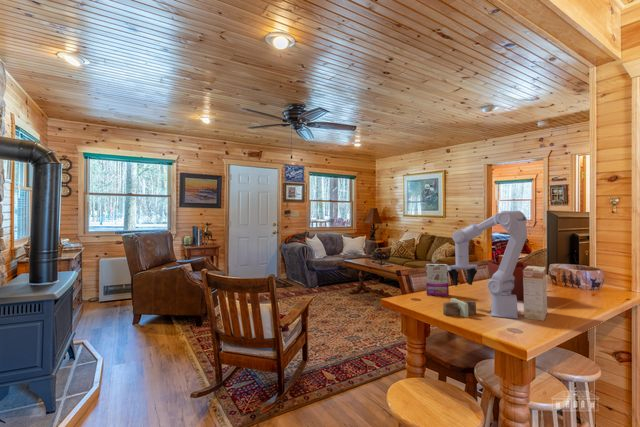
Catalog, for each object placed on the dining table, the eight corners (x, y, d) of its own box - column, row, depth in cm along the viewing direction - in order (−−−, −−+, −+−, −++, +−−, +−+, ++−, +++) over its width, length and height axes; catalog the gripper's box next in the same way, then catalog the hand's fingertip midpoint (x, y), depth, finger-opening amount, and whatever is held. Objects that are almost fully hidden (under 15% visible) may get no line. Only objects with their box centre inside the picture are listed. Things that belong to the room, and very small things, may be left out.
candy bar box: (448, 294, 175) (447, 263, 176) (448, 296, 171) (448, 265, 171) (426, 293, 179) (425, 263, 179) (426, 295, 174) (425, 264, 174)
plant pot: (547, 302, 157) (546, 267, 157) (507, 302, 157) (506, 267, 157) (523, 293, 176) (522, 261, 176) (487, 293, 176) (486, 262, 176)
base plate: (473, 312, 142) (472, 300, 142) (476, 313, 140) (475, 301, 140) (443, 314, 139) (443, 302, 139) (446, 315, 137) (445, 303, 137)
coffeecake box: (528, 309, 145) (527, 265, 145) (548, 312, 140) (546, 266, 140) (523, 318, 133) (521, 269, 133) (544, 321, 129) (543, 271, 129)
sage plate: (450, 310, 145) (450, 298, 145) (454, 310, 145) (453, 298, 145) (464, 317, 135) (464, 304, 135) (468, 317, 135) (468, 303, 135)
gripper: (470, 254, 159) (471, 282, 159) (443, 255, 157) (443, 284, 157) (480, 256, 152) (480, 285, 152) (451, 257, 150) (452, 287, 150)
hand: (462, 285), depth 154 cm, fingers open, 7 cm apart
